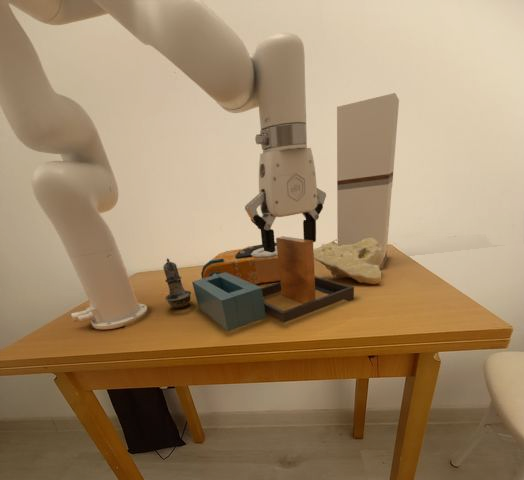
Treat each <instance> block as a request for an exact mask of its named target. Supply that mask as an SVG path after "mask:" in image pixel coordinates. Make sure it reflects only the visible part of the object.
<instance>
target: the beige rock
mask: <svg viewBox="0 0 524 480" xmlns="http://www.w3.org/2000/svg"><path fill="white" fill-rule="evenodd" d="M336 241H337V242H336ZM313 250H314V261H317V262H319V263H321V264H322V265H323V266H324V267H325V268H326V269H327V270H328V271H329V272H330V274H331V275H332V278H334V279H335V280H336V279H338V278H341V279H344V278H350V279H351V278H352V279H354V280H355V281H356V282H358V283H359V284H363V283H364V284H371V285H376V284H379V283H380V282H381V280H382V271H381V269H380V268H379V267H380V266H381V264H382V262H383V260H384V258H383V257H384V252H383V247H382V246H381V245H380V243H379V242H378V241H376V240H375V239H373V238H367V239H364V240H362V241H360V242H358V243H356V244H352V245H341V246H338V239H337V238H336V239H333V240H332V241H330V242H328V243H322V244H321V246H319V247H317V248H313Z"/></svg>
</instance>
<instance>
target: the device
mask: <svg viewBox="0 0 524 480" xmlns="http://www.w3.org/2000/svg"><path fill="white" fill-rule="evenodd" d="M225 272H226V273H229V274H231V275H233V276H236V277H238V278H240V279H243V280H245V281H247V282H250V283H252V284H254V285H259V284H263V283H264V284H265V283H275V282H277V283H278V282H280V272H279V263H278V253H277V243H276V242H275V252H272V253H271V252H267V251H265V250H264V248H263V246H262V244H256V245H250V246H247V247H243V248H239V249H238V248H237V249H231V250H225V251H223V252H219V253H218V254H217V255H215V256H214V257H213V258H212V259H210V260H209V261H207V263H205V264H204V265H203V266H202V270H201V272H200V274H201V279H203V278H207V277H210V276H214V275H218V274H221V273H225Z"/></svg>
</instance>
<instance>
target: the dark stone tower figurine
mask: <svg viewBox="0 0 524 480" xmlns="http://www.w3.org/2000/svg"><path fill="white" fill-rule="evenodd" d="M163 271H164V275H165V278H166V279H165V282H166V283H167V286H168V289H169V294H167V295H166V296H165V298H164V299H165V301H167V303H168V304H169V305H170V306H171V307H172V308H176V309H178V310H181V309H185V308H186V307H187V305H189V303H191V298H192V297H191V295H192V292H191V291H189V290H185V288H184V286H183V283H182V280H181V279H182V276H180V274H179V270H178V266H177V264H176V263H175V262H173V261H170V259H169V258H168V257H167V258H166V263H164V264H163Z"/></svg>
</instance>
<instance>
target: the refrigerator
mask: <svg viewBox="0 0 524 480" xmlns="http://www.w3.org/2000/svg"><path fill="white" fill-rule="evenodd" d="M399 105H400V99H399V97H398V95H397V93H396V92H393V93H389V94H385V95H381V96H377V97H376V96H375V97H373V98H372V97H371V98H368V99H364V100H359V101H355V102H352V103H351V102H350V103H348V104H343V105H339V106H336V189H337V190H336V197H337V198H336V201H337V205H336V206H337V207H336V209H337V210H336V211H337V212H336V213H337V214H336V215H337V217H336V219H337V220H336V221H337V232H336V233H337V236H336V237H337V238H336V239H337V244H338V246H341V245H352V244H356V243H358V242H360V241H362V240H364V239H367V238H373V239H375V240H376V241H378V242H379V243H380V245H381V246H382V247H383V252H384V257H383V258H384V260H383V262H382V264H381V266H380V267H379V268H380V270H383V269H384V266H385V264H386V261H387V257H388V243H389V242H388V240H389V228H390V216H391V201H392V189H393V183H394V182H393V180H394V170H395V168H394V167H395V156H396V143H397V131H398V119H399V108H400V107H399Z"/></svg>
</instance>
